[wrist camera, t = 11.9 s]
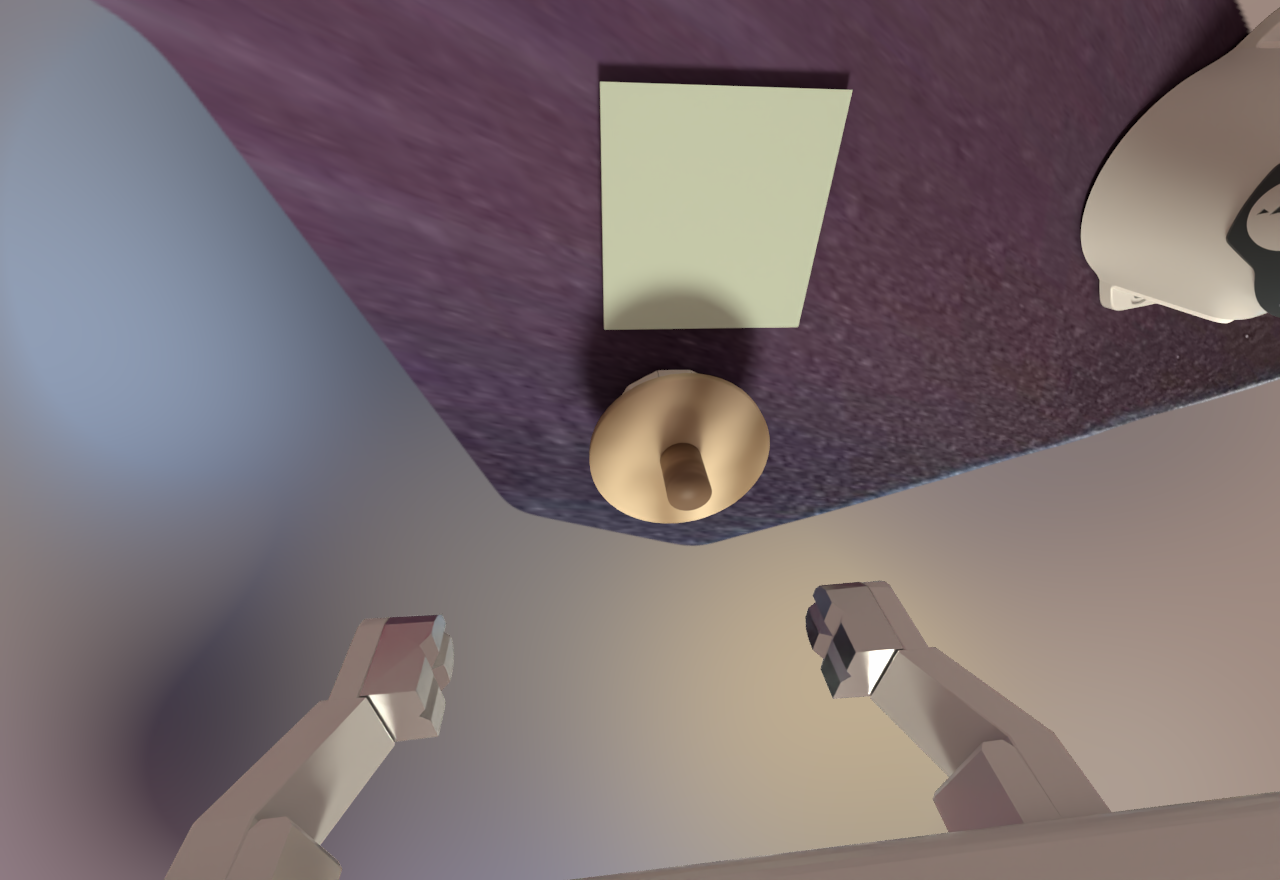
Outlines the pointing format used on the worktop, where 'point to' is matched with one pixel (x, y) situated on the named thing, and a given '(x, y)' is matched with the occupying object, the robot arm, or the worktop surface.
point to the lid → (678, 448)
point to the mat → (713, 201)
